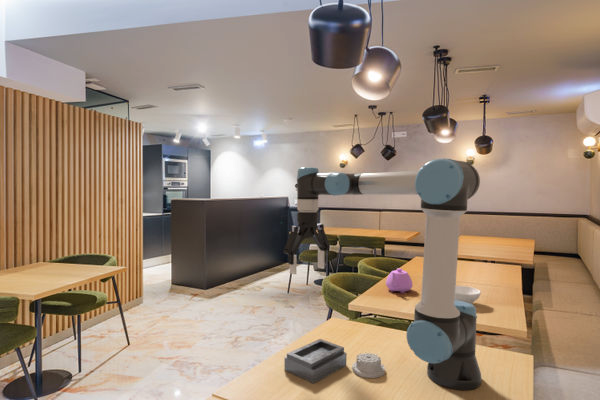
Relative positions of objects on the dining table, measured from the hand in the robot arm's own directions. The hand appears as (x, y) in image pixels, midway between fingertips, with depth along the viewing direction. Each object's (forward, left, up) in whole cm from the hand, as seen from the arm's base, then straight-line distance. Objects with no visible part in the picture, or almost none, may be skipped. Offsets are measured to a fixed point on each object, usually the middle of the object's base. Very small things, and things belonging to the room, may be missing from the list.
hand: (307, 270), depth 138 cm
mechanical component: (-26, +1, -27) cm, 38 cm away
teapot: (+12, -88, -27) cm, 93 cm away
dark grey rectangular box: (-13, +9, -27) cm, 31 cm away
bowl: (-22, -89, -27) cm, 96 cm away
